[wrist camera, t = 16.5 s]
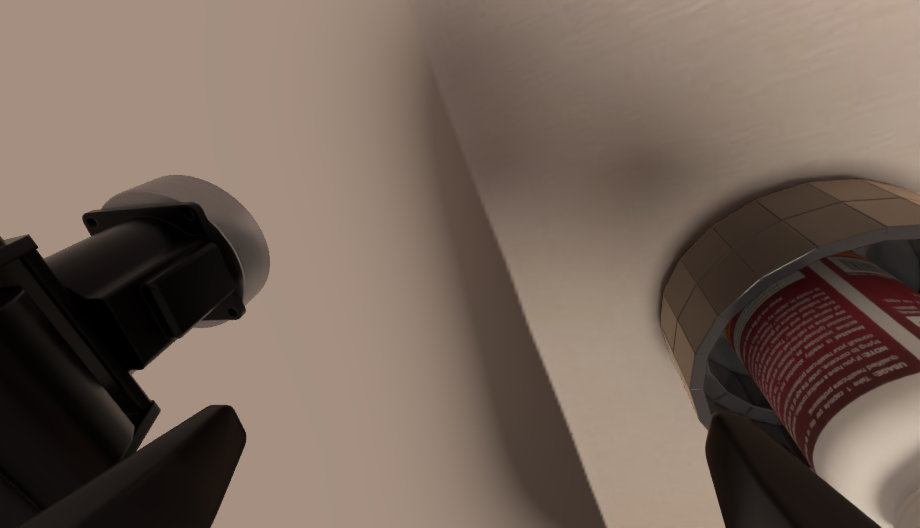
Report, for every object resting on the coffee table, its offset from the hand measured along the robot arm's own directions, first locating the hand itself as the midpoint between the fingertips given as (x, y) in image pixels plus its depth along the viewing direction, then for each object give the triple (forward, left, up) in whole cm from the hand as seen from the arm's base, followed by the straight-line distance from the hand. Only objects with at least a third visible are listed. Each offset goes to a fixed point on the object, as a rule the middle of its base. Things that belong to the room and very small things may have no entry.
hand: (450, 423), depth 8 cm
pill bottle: (+13, -6, -13) cm, 19 cm away
